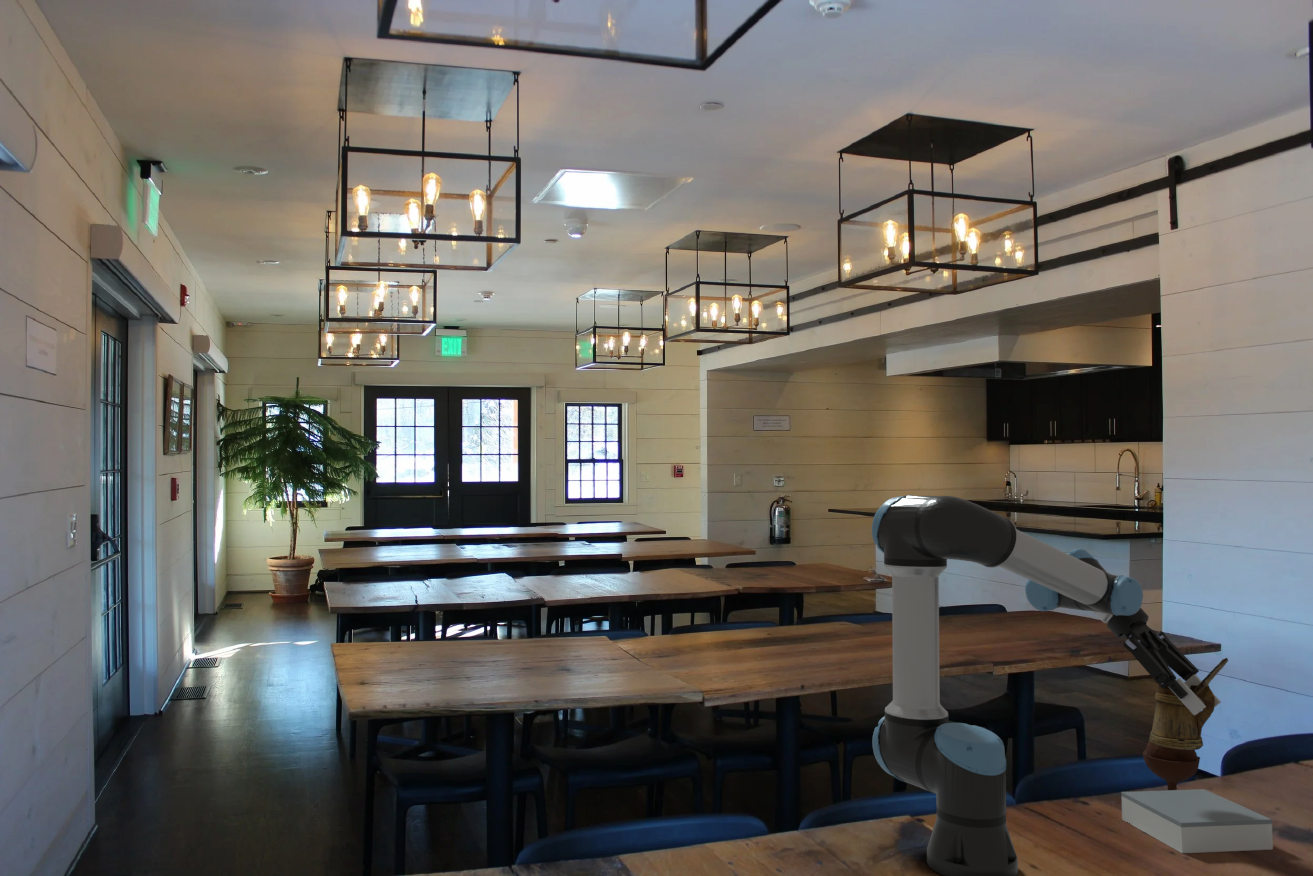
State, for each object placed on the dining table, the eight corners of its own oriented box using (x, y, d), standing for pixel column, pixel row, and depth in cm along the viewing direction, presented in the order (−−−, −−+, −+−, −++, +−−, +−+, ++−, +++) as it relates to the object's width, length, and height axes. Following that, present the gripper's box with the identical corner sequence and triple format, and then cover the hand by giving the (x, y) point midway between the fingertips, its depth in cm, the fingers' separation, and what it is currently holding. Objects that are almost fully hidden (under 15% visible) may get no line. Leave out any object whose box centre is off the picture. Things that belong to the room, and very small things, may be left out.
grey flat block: (1182, 853, 171) (1181, 823, 171) (1122, 819, 189) (1121, 792, 189) (1272, 849, 173) (1271, 819, 173) (1205, 816, 191) (1204, 789, 191)
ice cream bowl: (1202, 797, 203) (1200, 727, 204) (1200, 812, 193) (1197, 738, 194) (1147, 789, 208) (1145, 720, 209) (1142, 803, 199) (1140, 731, 200)
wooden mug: (1224, 758, 175) (1223, 660, 176) (1144, 744, 184) (1144, 650, 185) (1232, 749, 182) (1232, 655, 183) (1155, 736, 190) (1155, 646, 192)
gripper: (1109, 604, 186) (1200, 703, 172) (1155, 599, 198) (1243, 691, 184) (1084, 628, 190) (1170, 727, 176) (1130, 621, 202) (1214, 713, 188)
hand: (1207, 708), depth 180 cm, fingers closed on wooden mug, 6 cm apart
